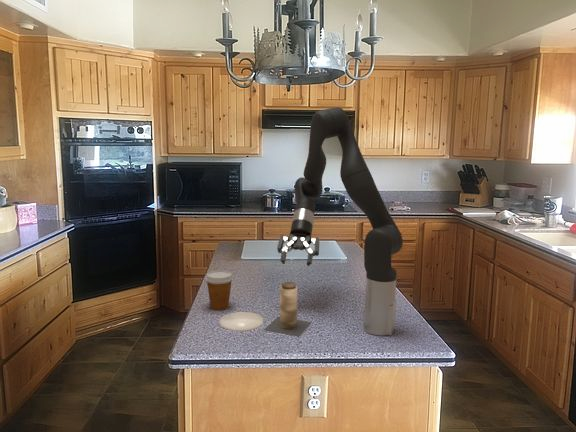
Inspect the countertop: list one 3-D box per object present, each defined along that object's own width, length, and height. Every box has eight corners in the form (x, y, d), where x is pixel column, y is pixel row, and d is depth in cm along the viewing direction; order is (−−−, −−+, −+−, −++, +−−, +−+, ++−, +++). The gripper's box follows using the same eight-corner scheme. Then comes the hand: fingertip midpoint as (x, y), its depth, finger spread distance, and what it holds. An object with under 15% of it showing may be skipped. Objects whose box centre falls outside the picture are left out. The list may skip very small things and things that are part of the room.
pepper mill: (298, 324, 151) (299, 282, 149) (292, 330, 146) (293, 287, 144) (283, 321, 153) (284, 280, 151) (276, 327, 148) (277, 285, 146)
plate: (270, 319, 156) (270, 315, 156) (251, 335, 143) (251, 331, 143) (232, 312, 161) (232, 309, 161) (211, 327, 148) (211, 324, 148)
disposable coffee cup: (203, 303, 169) (202, 271, 167) (229, 300, 173) (229, 269, 171) (209, 313, 160) (208, 279, 158) (236, 309, 164) (236, 276, 162)
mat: (311, 323, 153) (311, 322, 153) (299, 338, 142) (299, 336, 142) (278, 318, 157) (278, 316, 157) (263, 331, 146) (263, 330, 146)
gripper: (281, 217, 165) (273, 256, 156) (321, 219, 162) (315, 260, 153) (284, 228, 171) (276, 267, 162) (322, 231, 168) (317, 271, 159)
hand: (295, 264), depth 158 cm, fingers open, 8 cm apart
